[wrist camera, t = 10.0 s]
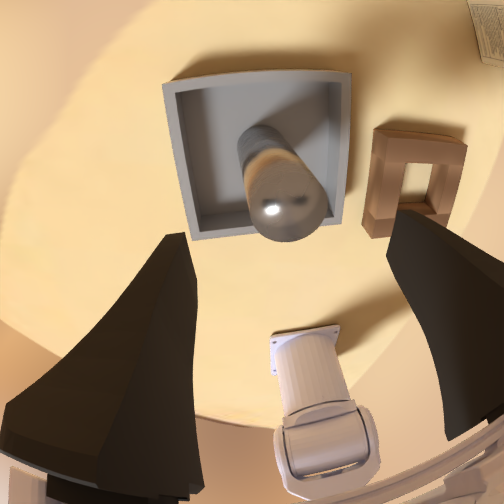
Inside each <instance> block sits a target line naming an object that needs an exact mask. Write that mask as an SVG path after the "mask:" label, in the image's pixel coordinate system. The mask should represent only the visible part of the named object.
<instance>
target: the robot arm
mask: <svg viewBox="0 0 504 504" xmlns="http://www.w3.org/2000/svg"><path fill="white" fill-rule="evenodd" d="M386 257H387V260H388V262H389V265H390V267H391V270H392V272H393V274H394V277H395V279H396V281H397V283H398V285H399V286H400V288H401V290H402V292H403V294H404V295H405V297H406V299H407V301H408V303H409V304H410V306H411V308H412V310H413V312H414V314H415V315H416V318H417V319H418V321H419V323H420V325H421V327H422V330H423V332H424V334H425V336H426V339H427V342H428V345H429V348H430V351H431V354H432V357H433V360H434V364H435V368H436V371H437V375H438V379H439V385H440V390H441V395H442V401H443V411H444V423H445V434H446V437H447V440H448V441H451V440H452V439H454V438H456V437H458V436H459V435H461V434H463V433H464V432H466V431H468V430H469V429H471V428H473V427H474V426H476V425H477V424H479V423H480V422H482V421H484V420H485V419H487V421H488V424H489V425H488V426H486V427H485V428H483V429H482V430H480V431H479V432H477V433H476V434H474V435H472V436H471V437H469V438H468V439H466V440H464V441H463V442H461V443H460V444H458V445H456V446H455V447H452V448H451V449H449V450H447V451H445V452H443V453H442V454H440V455H438V456H436V457H434V458H432V459H430V460H428V461H426V462H424V463H422V464H419V465H418V466H415V467H413V468H411V469H408V470H406V471H404V472H401V473H399V474H396V475H394V476H391V477H389V478H386V479H384V480H381V481H378V482H375V483H372V484H369V485H367V486H365V485H366V484H367V483H368V482H369V481H370V479H371V478H372V477H373V476H374V475H375V474H376V473H377V471H378V470H379V468H380V463H381V460H380V455H379V440H378V434H377V429H376V426H375V422H374V419H373V417H372V415H371V413H370V411H369V410H368V409H367V408H365V407H364V406H362V405H359V406H356V404H355V400H354V399H353V400H351V399H350V396H349V392H348V389H347V386H346V383H345V379H344V376H343V373H342V370H341V366H340V363H339V360H338V357H337V354H336V351H335V345H336V342H337V339H338V335H339V332H340V325H331V326H326V327H320V328H314V329H308V330H302V331H296V332H289V333H283V334H276V335H272V336H270V361H271V375H278V381H279V387H280V392H281V398H282V404H283V410H284V415H285V417H283V418H282V419H283V425H284V426H283V425H281V426H278V427H277V429H276V430H275V432H274V437H273V440H274V450H275V456H276V461H277V465H278V468H279V471H280V473H281V475H282V479H283V484H284V487H285V488H286V489H287V491H288V492H289V493H291V494H293V495H295V496H298V497H301V498H303V499H306V500H308V501H305V502H299V503H293V504H383V503H385V502H388V501H390V500H393V499H395V498H398V497H400V496H402V495H405V494H407V493H409V492H411V491H414V490H416V489H418V488H420V487H422V486H424V485H426V484H428V483H430V482H432V481H434V480H436V479H438V478H440V477H441V476H443V475H445V474H447V473H449V472H450V471H452V470H454V469H455V468H456V469H455V470H454V471H452V472H451V473H450V474H449V475H447V476H446V477H445V478H444V485H442V486H440V487H438V488H435V489H433V490H431V491H429V492H427V493H425V494H423V495H420V496H418V497H416V498H413V499H411V500H408V501H406V502H403V503H401V504H504V263H503V262H502V261H500V260H498V259H496V258H494V257H492V256H491V255H489V254H487V253H486V252H484V251H482V250H481V249H479V248H478V247H476V246H474V245H473V244H471V243H469V242H468V241H466V240H464V239H463V238H461V237H460V236H458V235H456V234H455V233H453V232H452V231H450V230H448V229H447V228H445V227H443V226H442V225H440V224H438V223H437V222H435V221H433V220H432V219H430V218H428V217H426V216H424V215H422V214H420V213H418V212H416V211H413V210H411V209H409V210H397V214H396V218H395V222H394V226H393V231H392V235H391V238H390V242H389V246H388V250H387V253H386ZM197 309H198V297H197V278H196V274H195V270H194V267H193V263H192V259H191V255H190V251H189V247H188V243H187V239H186V235H185V232H182V233H174V234H167V235H165V237H164V238H163V239H162V241H161V242H160V243H159V245H158V246H157V247H156V249H155V250H154V252H153V253H152V254H151V256H150V257H149V259H148V260H147V261H146V263H145V264H144V265H143V267H142V268H141V270H140V271H139V272H138V274H137V275H136V276H135V278H134V279H133V281H132V282H131V283H130V284H129V286H128V287H127V288H126V289H125V291H124V292H123V293H122V295H121V296H120V297H119V298H118V300H117V301H116V302H115V304H114V305H113V306H112V307H111V308H110V309H109V311H108V312H107V313H106V314H105V315H104V316H103V318H102V319H101V320H100V321H99V322H98V323H97V324H96V325H95V326H94V328H93V329H92V330H91V331H90V332H89V333H88V334H87V335H86V336H85V337H84V338H83V339H82V340H81V341H80V342H79V343H78V344H77V345H76V346H75V347H74V348H73V349H72V350H71V351H70V352H69V353H68V354H67V355H66V356H65V357H64V358H63V359H61V360H60V361H59V362H58V363H57V364H56V365H55V366H54V367H53V368H51V369H50V370H49V371H48V372H47V373H46V374H44V375H43V376H42V377H41V378H40V379H38V380H37V381H36V382H35V383H33V384H32V385H31V386H29V387H28V388H27V389H25V390H24V391H23V392H21V394H19V395H18V396H16V397H15V398H14V399H12V400H11V401H9V402H8V403H7V404H6V406H5V411H4V415H3V420H2V426H1V431H0V453H2V454H4V455H6V456H8V457H11V458H13V459H15V460H17V461H19V462H21V463H24V464H26V465H28V466H30V467H33V468H35V469H38V470H40V471H43V472H45V473H48V474H47V480H45V479H43V478H40V477H38V476H35V475H33V474H30V473H28V472H26V471H23V470H21V469H19V468H16V467H14V466H11V467H10V478H9V501H8V504H178V503H179V502H178V501H190V494H198V493H199V492H200V491H201V490H202V489H203V488H204V487H205V486H204V481H203V475H202V469H201V463H200V456H199V449H198V442H197V433H196V423H195V411H194V397H193V357H194V344H195V332H196V321H197ZM483 450H485V453H484V454H483V455H482V456H479V457H477V458H475V459H473V460H472V461H470V462H467V461H468V460H470V459H471V458H473V457H474V456H476V455H477V454H479V453H480V452H482V451H483ZM355 462H358V463H356V464H355V465H353V466H350V467H347V468H344V469H340V470H336V471H332V472H328V473H324V474H320V475H316V476H310V477H304V475H309V474H313V473H318V472H322V471H327V470H331V469H334V468H338V467H342V466H345V465H349V464H352V463H355ZM465 462H467V463H465ZM464 463H465V464H464ZM462 464H463V465H462ZM460 465H462V466H460ZM459 466H460V467H459ZM457 467H458V468H457Z"/></svg>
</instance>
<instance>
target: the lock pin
mask: <svg viewBox="0 0 504 504" xmlns="http://www.w3.org/2000/svg"><path fill="white" fill-rule="evenodd" d="M237 153H238V158H239V163H240V168H241V173H242V178H243V182H244V187H245V192H246V197H247V202H248V207H249V212H250V217H251V221H252V223H253V225H254V227H255V228H256V230H257V231H258V232H259V233H260V234H261V235H263V236H264V237H266V238H268V239H270V240H273V241H277V242H292V241H297V240H300V239H302V238H305V237H307V236H308V235H310V234H311V233H313V232H314V231H315V230H316V229H317V228H318V227H319V226H320V225H321V223H322V222H323V220H324V218H325V216H326V213H327V209H328V198H327V194H326V192H325V190H324V188H323V186H322V185H321V184H320V182H319V181H318V180H317V178H316V177H315V176H314V174H313V173H312V172H311V171H310V169H309V168H308V167H307V165H306V164H305V163H304V162H303V160H302V159H301V158H300V157H299V155H298V154H297V153H296V152H295V150H294V149H293V148H292V147H291V146H290V144H289V143H288V142H287V141H286V140H285V138H284V137H283V136H282V135H281V134H280V132H278V131H277V130H276V129H275V128H273V127H271V126H267V125H256V126H253V127H250V128H248V129H247V130H246V131H244V132H243V133H242V135H241V136H240V138H239V140H238V143H237Z"/></svg>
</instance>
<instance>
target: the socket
mask: <svg viewBox="0 0 504 504" xmlns="http://www.w3.org/2000/svg"><path fill="white" fill-rule="evenodd" d="M467 147H468V145H466V144H464V143H462V142H461V141H459V140H457V139H455V138H454V137H451V136H444V135H436V134H428V133H419V132H408V131H396V130H380V129H374V131H373V142H372V153H371V162H370V170H369V178H368V186H367V193H366V200H365V206H364V213H363V219H362V226H363V227H364V229H365V230H366V232H367V233H368V234H369V236H370V237H371V239H374V238H383V237H391V235H392V231H393V226H394V222H395V218H396V214H397V210H409V209H411V210H413V211H416V212H418V213H420V214H422V215H424V216H426V217H428V218H430V219H432V220H433V221H435V222H437V223H438V224H440V225H442V226H443V227H445V228H446V227H447V224H448V220H449V217H450V214H451V211H452V208H453V204H454V201H455V197H456V194H457V190H458V186H459V183H460V179H461V175H462V170H463V166H464V161H465V157H466V152H467ZM406 163H428V164H433V167H432V172H431V177H430V181H429V186H428V190H427V194H426V198H425V202H417V203H400V204H398V201H399V197H400V192H401V186H402V181H403V176H404V170H405V164H406Z"/></svg>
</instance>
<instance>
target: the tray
mask: <svg viewBox="0 0 504 504" xmlns="http://www.w3.org/2000/svg"><path fill="white" fill-rule="evenodd" d="M351 81H352V73H347V72H341V71H335V70H315V69H272V70H252V71H238V72H228V73H219V74H211V75H203V76H196V77H190V78H184V79H178V80H173V81H169V82H166V83H164V84H162V89H163V95H164V102H165V108H166V114H167V120H168V126H169V132H170V137H171V143H172V148H173V154H174V159H175V164H176V169H177V174H178V179H179V184H180V189H181V193H182V198H183V203H184V207H185V212H186V216H187V221H188V225H189V229H190V234H191V238H192V241H196V240H204V239H212V238H220V237H228V236H237V235H245V234H254V233H259V232H258V231H257V230H256V228H255V227H254V225H253V223H252V221H251V217H250V212H249V207H248V202H247V197H246V192H245V187H244V182H243V178H242V173H241V168H240V163H239V158H238V153H237V143H238V140H239V138H240V136H241V135H242V133H243V132H244V131H246V130H247V129H248V128H250V127H253V126H256V125H267V126H271V127H273V128H275V129H276V130H277V131H278V132H280V134H281V135H282V136H283V137H284V138H285V140H286V141H287V142H288V143H289V144H290V146H291V147H292V148H293V149H294V150H295V152H296V153H297V154H298V155H299V157H300V158H301V159H302V160H303V162H304V163H305V164H306V165H307V167H308V168H309V169H310V171H311V172H312V173H313V174H314V176H315V177H316V178H317V180H318V181H319V182H320V184H321V185H322V186H323V188H324V190H325V192H326V194H327V198H328V209H327V213H326V216H325V218H324V220H323V222H322V223H321V225H320V226H327V225H337V224H341V223H342V215H343V207H344V198H345V188H346V178H347V167H348V154H349V139H350V120H351Z"/></svg>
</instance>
